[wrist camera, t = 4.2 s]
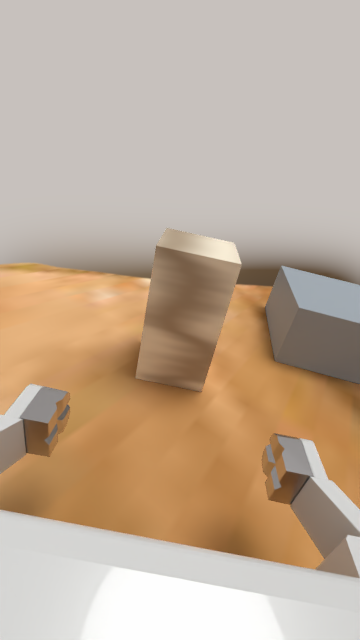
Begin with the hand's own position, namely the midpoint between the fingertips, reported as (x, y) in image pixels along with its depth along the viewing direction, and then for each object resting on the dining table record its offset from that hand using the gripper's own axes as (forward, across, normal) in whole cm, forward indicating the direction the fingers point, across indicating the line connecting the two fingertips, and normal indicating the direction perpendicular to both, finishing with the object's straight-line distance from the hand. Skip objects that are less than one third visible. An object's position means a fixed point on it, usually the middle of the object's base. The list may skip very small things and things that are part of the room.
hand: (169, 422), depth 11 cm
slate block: (+20, -16, +6) cm, 26 cm away
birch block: (+11, 0, +6) cm, 12 cm away
